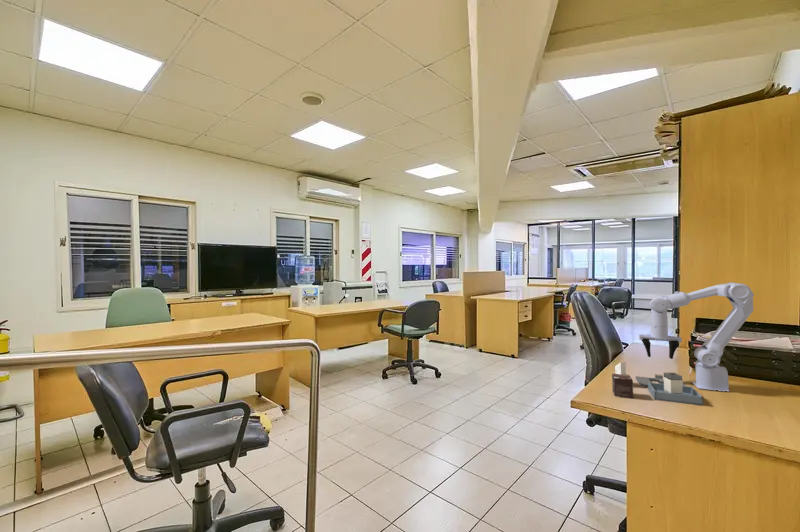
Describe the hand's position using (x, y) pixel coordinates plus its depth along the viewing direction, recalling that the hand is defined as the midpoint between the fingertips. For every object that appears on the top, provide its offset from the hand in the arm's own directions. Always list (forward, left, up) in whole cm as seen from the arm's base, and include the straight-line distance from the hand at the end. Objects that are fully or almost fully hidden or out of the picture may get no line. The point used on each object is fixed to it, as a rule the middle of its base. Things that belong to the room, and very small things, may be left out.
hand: (659, 357), depth 144 cm
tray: (0, +19, -10) cm, 21 cm away
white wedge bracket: (+15, +9, -11) cm, 20 cm away
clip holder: (+1, +5, -10) cm, 11 cm away
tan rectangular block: (0, +18, -10) cm, 21 cm away
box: (+17, +23, -11) cm, 31 cm away
